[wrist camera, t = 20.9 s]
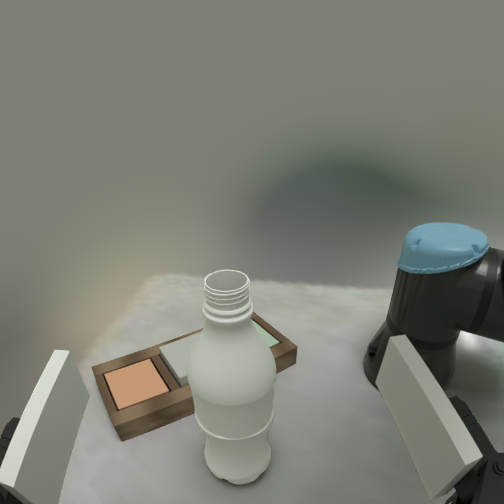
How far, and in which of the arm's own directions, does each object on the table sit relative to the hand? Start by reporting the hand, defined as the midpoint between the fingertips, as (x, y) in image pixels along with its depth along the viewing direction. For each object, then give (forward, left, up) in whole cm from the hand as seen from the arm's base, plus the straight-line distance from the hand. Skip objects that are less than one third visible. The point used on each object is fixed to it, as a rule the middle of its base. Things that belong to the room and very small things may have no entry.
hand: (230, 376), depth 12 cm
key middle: (-8, -24, -24) cm, 35 cm away
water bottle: (-5, -8, -26) cm, 28 cm away
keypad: (-8, -24, -26) cm, 37 cm away
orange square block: (+1, -24, -25) cm, 35 cm away
